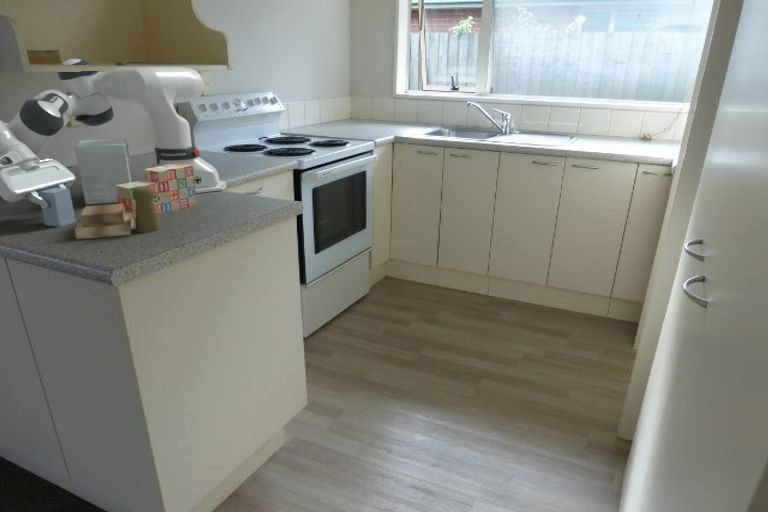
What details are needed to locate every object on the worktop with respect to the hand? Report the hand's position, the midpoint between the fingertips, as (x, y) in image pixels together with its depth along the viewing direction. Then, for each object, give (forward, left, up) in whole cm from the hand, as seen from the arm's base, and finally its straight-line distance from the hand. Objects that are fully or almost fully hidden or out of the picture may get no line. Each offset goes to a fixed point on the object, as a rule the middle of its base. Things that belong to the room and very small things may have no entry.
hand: (58, 203), depth 137 cm
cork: (-21, +12, -6) cm, 25 cm away
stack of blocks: (-24, -5, -6) cm, 25 cm away
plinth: (-11, +10, -5) cm, 16 cm away
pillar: (+1, 0, -5) cm, 5 cm away
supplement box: (-9, -25, -6) cm, 28 cm away
